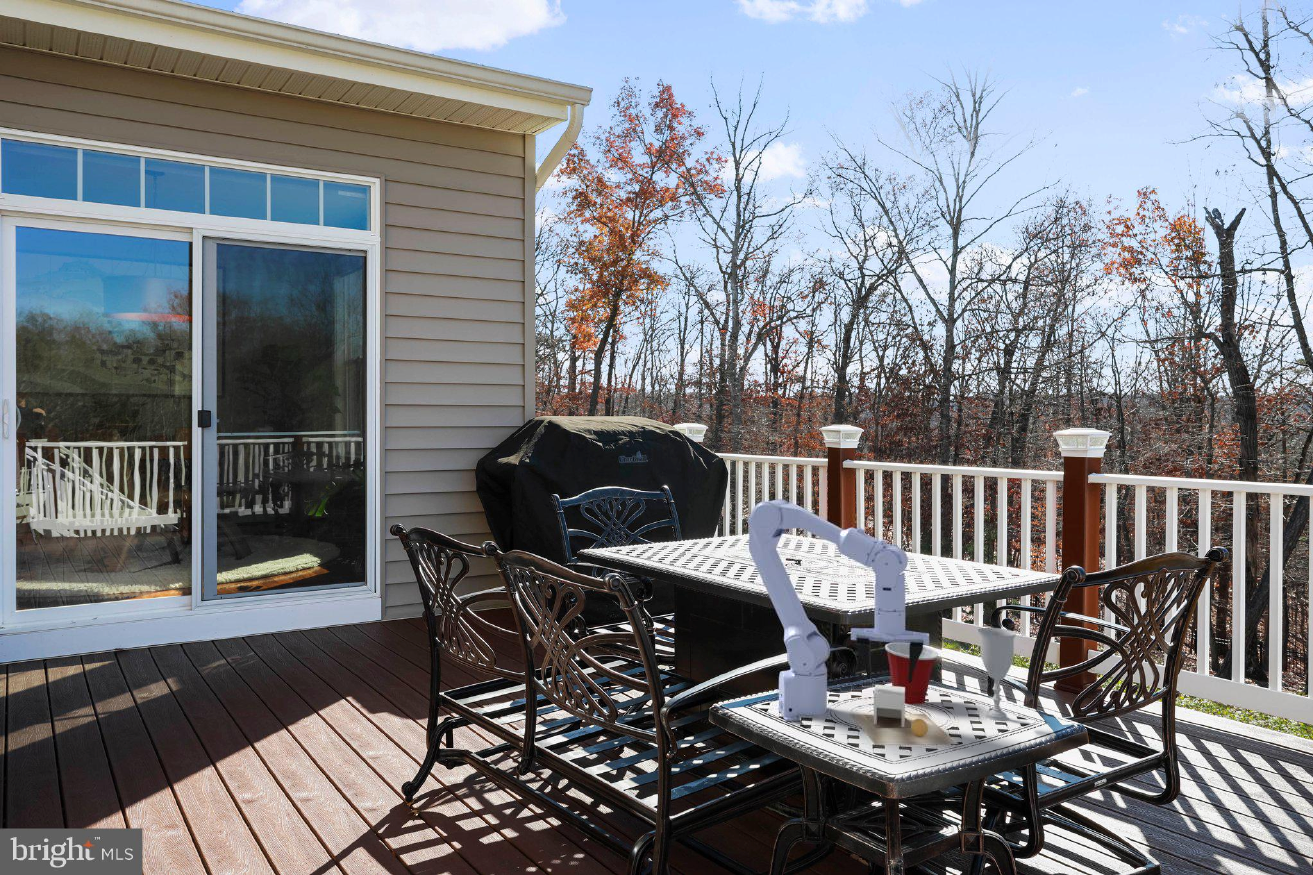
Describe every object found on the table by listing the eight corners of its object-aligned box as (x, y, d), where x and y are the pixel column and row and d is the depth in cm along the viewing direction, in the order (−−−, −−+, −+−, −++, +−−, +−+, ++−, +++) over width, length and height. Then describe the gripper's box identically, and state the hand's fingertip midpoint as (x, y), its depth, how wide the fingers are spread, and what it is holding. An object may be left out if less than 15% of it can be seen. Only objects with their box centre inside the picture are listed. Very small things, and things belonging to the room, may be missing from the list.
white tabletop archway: (873, 723, 162) (873, 692, 162) (875, 715, 168) (875, 684, 168) (904, 726, 161) (904, 695, 161) (904, 717, 166) (904, 687, 166)
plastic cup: (930, 716, 171) (931, 657, 171) (877, 707, 177) (878, 649, 177) (943, 703, 180) (944, 646, 180) (892, 694, 186) (893, 639, 186)
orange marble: (914, 738, 155) (914, 721, 155) (908, 732, 158) (908, 716, 158) (930, 738, 155) (930, 721, 155) (924, 732, 158) (924, 716, 158)
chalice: (969, 719, 169) (969, 629, 169) (995, 715, 172) (995, 626, 172) (998, 731, 162) (998, 637, 162) (1024, 726, 165) (1024, 634, 165)
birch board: (875, 751, 151) (875, 743, 151) (849, 720, 168) (849, 713, 168) (958, 750, 152) (958, 743, 152) (924, 719, 169) (924, 713, 169)
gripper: (849, 610, 163) (849, 681, 163) (929, 615, 158) (928, 688, 158) (852, 603, 169) (852, 672, 169) (929, 608, 165) (928, 678, 165)
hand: (889, 679), depth 164 cm, fingers open, 7 cm apart
